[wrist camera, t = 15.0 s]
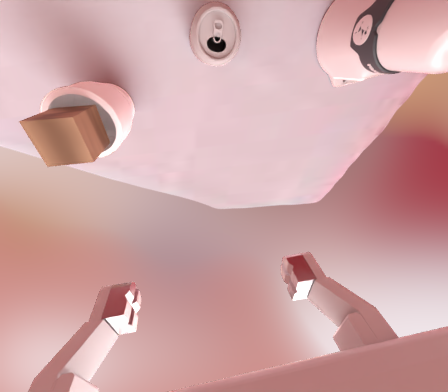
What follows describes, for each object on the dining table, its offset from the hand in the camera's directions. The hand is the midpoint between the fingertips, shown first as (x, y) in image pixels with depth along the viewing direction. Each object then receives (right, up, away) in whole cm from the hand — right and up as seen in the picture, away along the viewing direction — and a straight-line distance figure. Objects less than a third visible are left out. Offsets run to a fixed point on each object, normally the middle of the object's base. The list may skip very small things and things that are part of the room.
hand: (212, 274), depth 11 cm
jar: (-23, +23, +30) cm, 44 cm away
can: (-2, +34, +27) cm, 43 cm away
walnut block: (-20, +15, +18) cm, 31 cm away
